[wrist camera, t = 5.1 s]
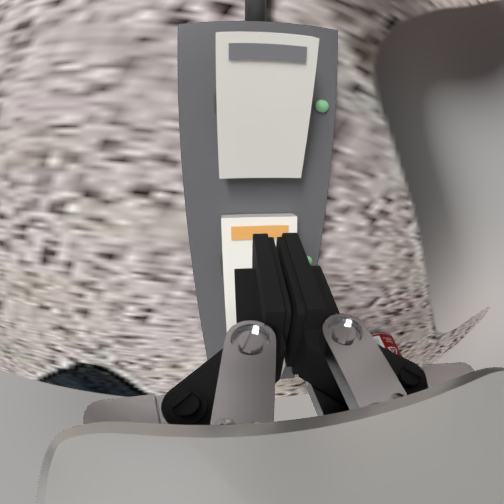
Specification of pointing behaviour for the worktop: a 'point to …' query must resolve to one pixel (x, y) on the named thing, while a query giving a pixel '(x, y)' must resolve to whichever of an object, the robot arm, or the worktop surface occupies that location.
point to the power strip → (245, 189)
